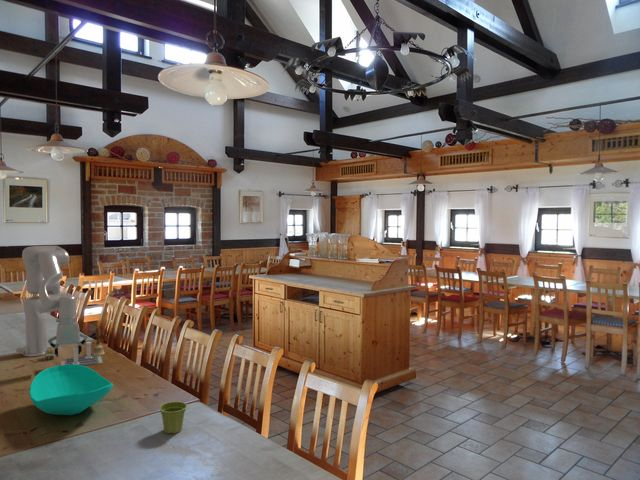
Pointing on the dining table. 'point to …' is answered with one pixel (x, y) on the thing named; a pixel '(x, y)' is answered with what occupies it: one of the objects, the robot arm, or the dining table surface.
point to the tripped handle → (75, 355)
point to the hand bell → (98, 344)
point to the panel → (84, 360)
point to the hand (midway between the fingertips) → (68, 354)
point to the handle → (88, 349)
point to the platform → (50, 353)
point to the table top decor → (68, 389)
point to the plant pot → (173, 416)
